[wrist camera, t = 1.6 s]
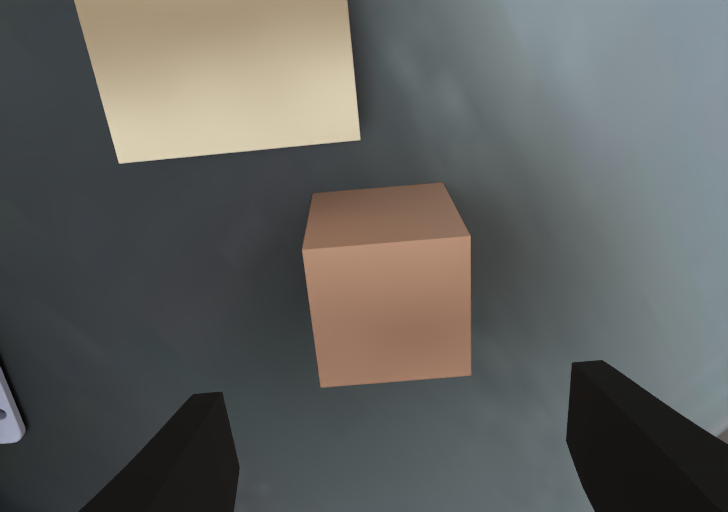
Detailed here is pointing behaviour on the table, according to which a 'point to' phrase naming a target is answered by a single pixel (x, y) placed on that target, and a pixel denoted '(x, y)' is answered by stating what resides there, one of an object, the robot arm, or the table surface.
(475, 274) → the table surface
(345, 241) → the terracotta block
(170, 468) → the robot arm
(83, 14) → the maple slab
